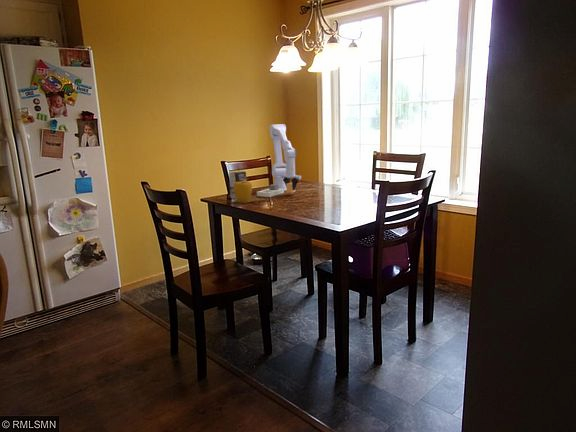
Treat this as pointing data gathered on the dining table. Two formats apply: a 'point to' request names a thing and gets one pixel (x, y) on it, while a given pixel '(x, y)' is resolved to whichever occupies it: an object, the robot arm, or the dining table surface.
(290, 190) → the plug
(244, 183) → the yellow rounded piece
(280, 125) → the robot arm
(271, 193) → the white rectangular base
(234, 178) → the coffee box
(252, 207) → the dining table surface
